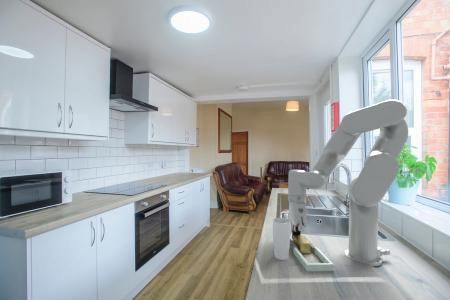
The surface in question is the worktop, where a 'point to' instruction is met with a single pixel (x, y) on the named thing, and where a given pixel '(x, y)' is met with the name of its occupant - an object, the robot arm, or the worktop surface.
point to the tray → (324, 266)
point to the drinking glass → (281, 237)
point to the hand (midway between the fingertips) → (296, 239)
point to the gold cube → (297, 238)
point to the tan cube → (304, 246)
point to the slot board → (297, 247)
